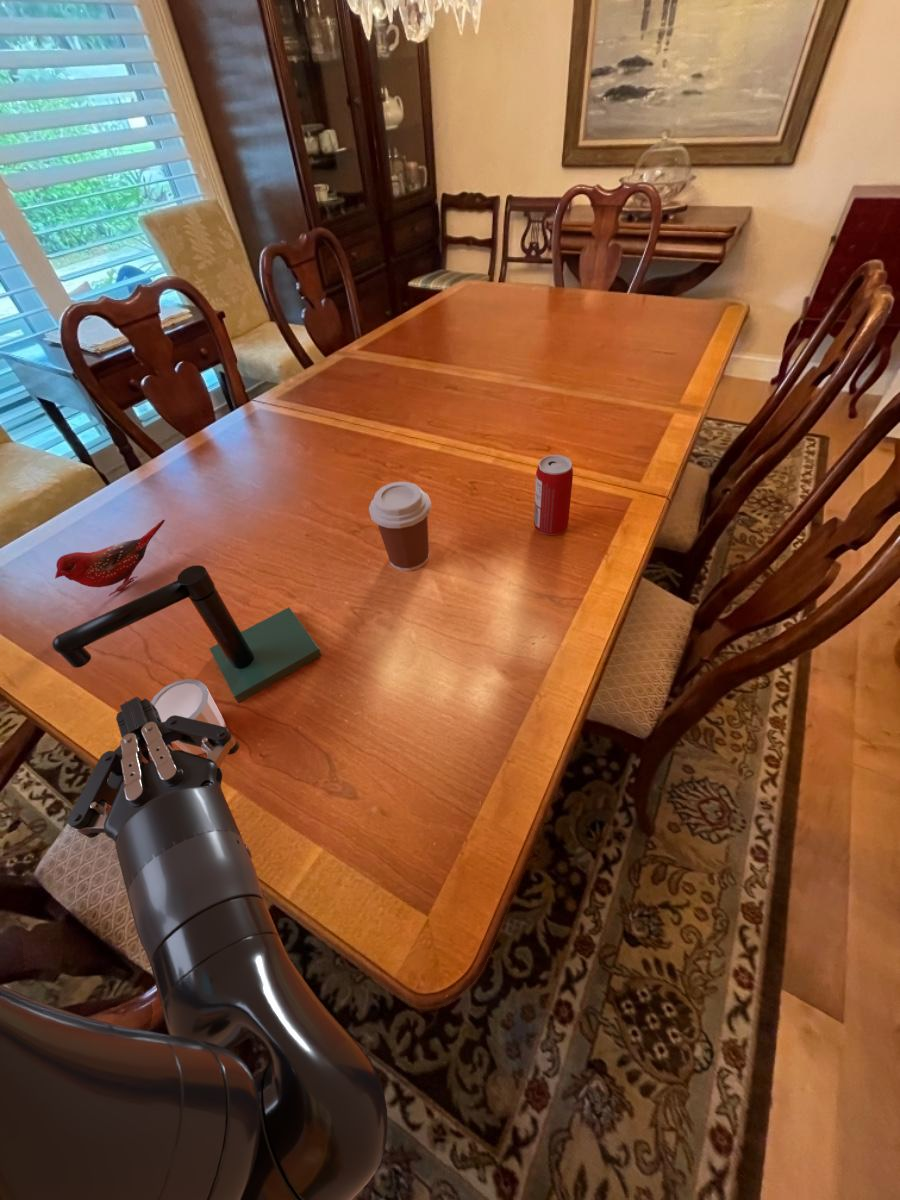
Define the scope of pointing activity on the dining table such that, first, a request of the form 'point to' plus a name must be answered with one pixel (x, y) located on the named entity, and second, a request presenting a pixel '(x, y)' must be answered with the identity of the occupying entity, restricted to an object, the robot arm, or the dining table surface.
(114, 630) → the spout
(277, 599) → the dining table surface
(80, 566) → the decorative bird figurine
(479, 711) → the dining table surface
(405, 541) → the coffee cup
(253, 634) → the faucet
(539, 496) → the soda can
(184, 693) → the shot glass
